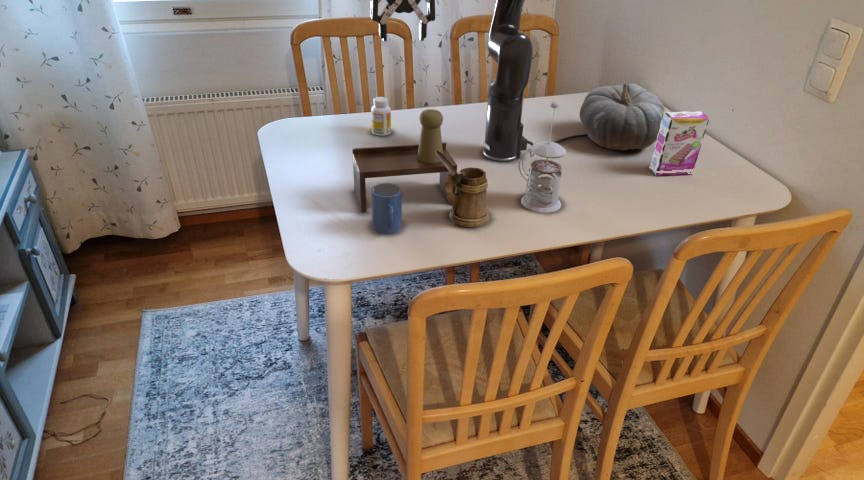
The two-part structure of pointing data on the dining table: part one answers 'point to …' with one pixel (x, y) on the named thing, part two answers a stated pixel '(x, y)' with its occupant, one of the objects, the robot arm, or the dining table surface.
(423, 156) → the olive green peg figure
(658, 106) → the gourd
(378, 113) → the supplement bottle
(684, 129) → the candy bar box
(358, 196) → the brown wooden shelf
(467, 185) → the wooden mug
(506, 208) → the dining table surface
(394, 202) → the cup
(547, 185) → the french press
